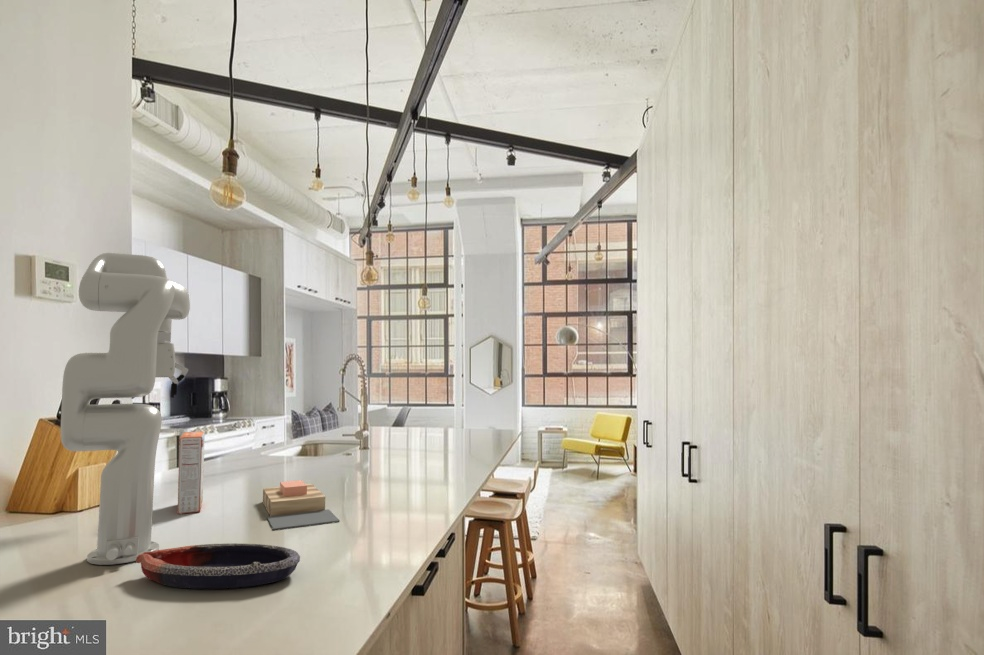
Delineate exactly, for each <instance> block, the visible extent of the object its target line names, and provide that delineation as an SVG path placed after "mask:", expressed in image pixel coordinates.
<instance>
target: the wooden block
mask: <svg viewBox="0 0 984 655" xmlns="http://www.w3.org/2000/svg"><path fill="white" fill-rule="evenodd" d="M305 484H306V485H307V494H304V495H294V496H284V495H283V494H282V492H281V491H280V486H273V487H262V503H263V505H264V507H265V510H266V511H267V513H268V515H269V516H275V515H284V514H293V513H301V512H310V511H319V510H326V495H325V494H324V493H322V492H321V491H320V490H319V489H318V488H317V487H316V486H315V485H313V484H312V483H305Z"/></svg>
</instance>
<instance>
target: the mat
mask: <svg viewBox="0 0 984 655" xmlns="http://www.w3.org/2000/svg"><path fill="white" fill-rule="evenodd" d="M266 519H267V521H268V523H269V524H270V525H269V526H271V528H273V529H272V530H273V531H278V529H280V530H286V529H287V528H288V529H294V528H295V527H296V528H302V526H303V527H310V526H309V525H311V526H318V525H317V524H319V525H325V524H324V523H327V524H333V523H332V522H335V523H340V522H341V520H340V519H339V518H338V517H337V516H336V515H335V514H334V513H333V512H332V511H331V510H330V509H325V510H319V511H310V512H301V513H293V514H284V515H275V516H270V515H269V516H266ZM339 521H340V522H339Z"/></svg>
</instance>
